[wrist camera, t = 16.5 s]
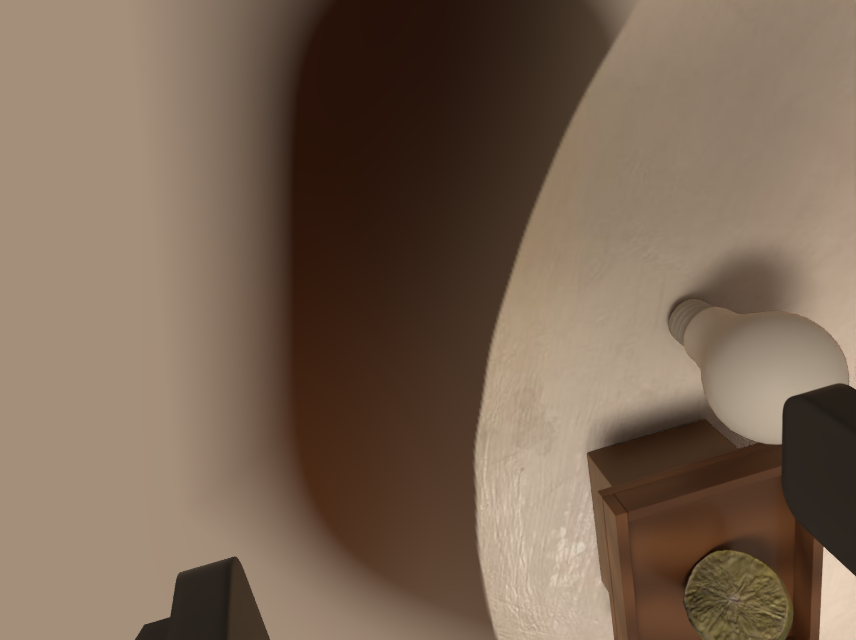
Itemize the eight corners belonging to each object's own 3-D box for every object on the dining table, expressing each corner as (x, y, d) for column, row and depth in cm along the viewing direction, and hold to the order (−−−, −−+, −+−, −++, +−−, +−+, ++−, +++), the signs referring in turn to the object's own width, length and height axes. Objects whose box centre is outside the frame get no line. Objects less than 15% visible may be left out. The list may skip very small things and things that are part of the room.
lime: (662, 606, 39) (715, 681, 35) (694, 532, 38) (753, 601, 33) (731, 609, 41) (790, 682, 36) (764, 538, 39) (830, 605, 35)
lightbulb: (669, 245, 39) (810, 321, 29) (751, 287, 41) (909, 371, 31) (611, 342, 40) (726, 446, 30) (693, 378, 42) (826, 487, 32)
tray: (553, 429, 42) (615, 515, 34) (731, 379, 43) (828, 451, 36) (578, 614, 48) (636, 721, 40) (734, 564, 49) (818, 659, 42)
